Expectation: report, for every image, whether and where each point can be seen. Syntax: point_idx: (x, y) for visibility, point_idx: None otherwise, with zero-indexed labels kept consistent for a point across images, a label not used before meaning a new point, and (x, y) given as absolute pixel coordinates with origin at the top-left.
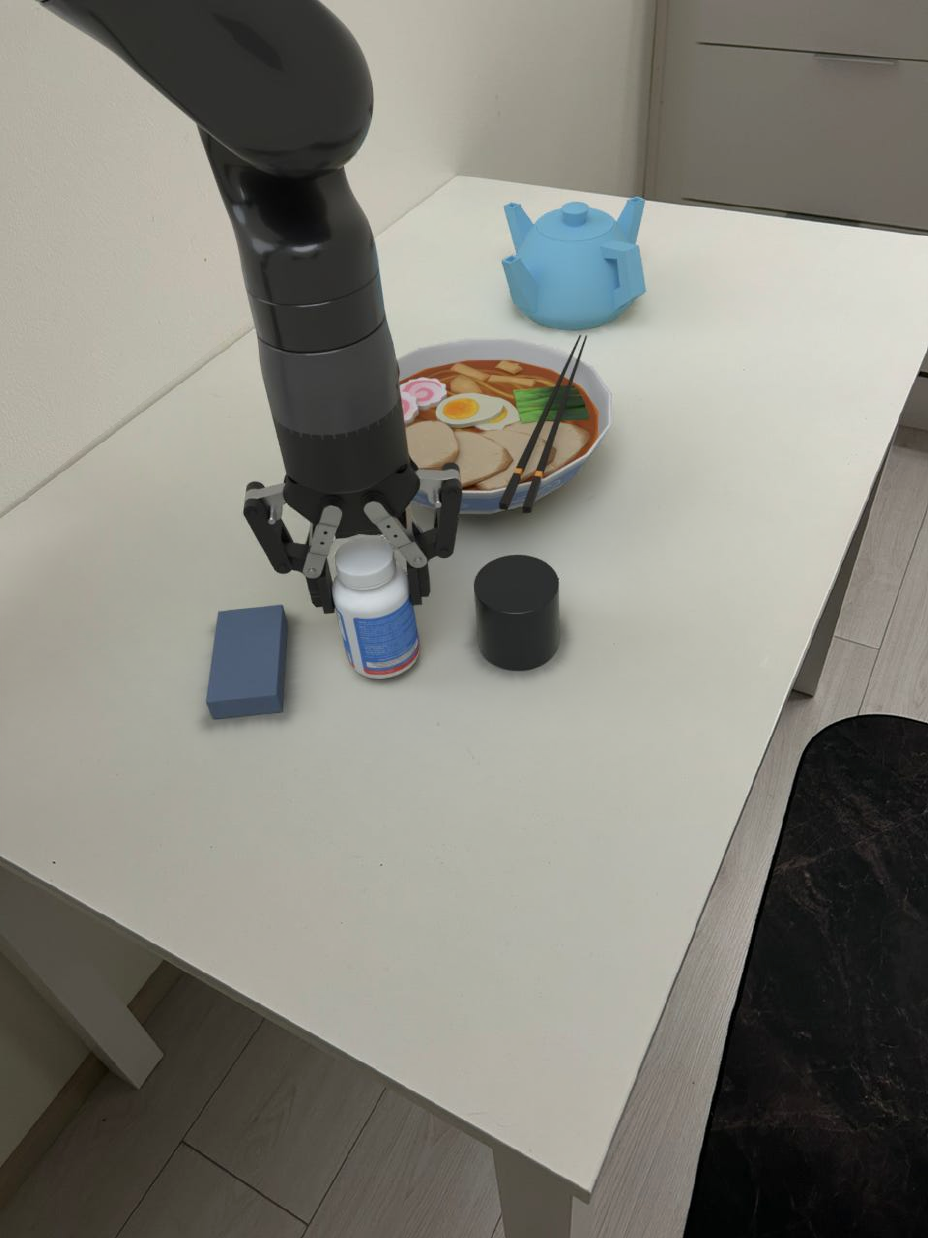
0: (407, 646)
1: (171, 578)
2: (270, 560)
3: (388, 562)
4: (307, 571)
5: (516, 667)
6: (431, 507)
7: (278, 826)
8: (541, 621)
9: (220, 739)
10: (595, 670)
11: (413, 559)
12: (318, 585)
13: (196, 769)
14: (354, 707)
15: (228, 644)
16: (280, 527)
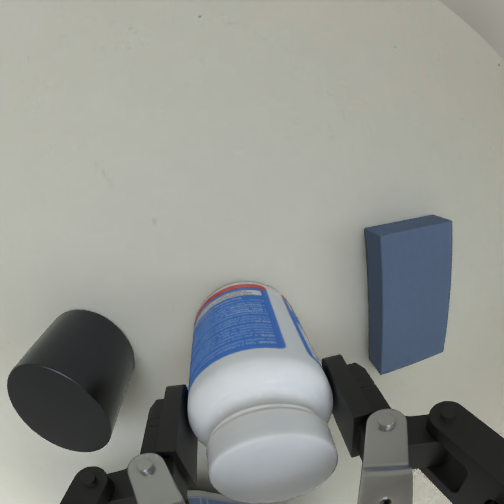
0: (199, 324)
1: (463, 380)
2: (476, 419)
3: (213, 466)
4: (395, 421)
5: (77, 312)
6: (221, 497)
7: (333, 60)
8: (23, 356)
9: (422, 186)
10: (11, 309)
11: (154, 471)
12: (364, 398)
13: (435, 145)
14: (273, 241)
15: (435, 309)
16: (463, 491)
